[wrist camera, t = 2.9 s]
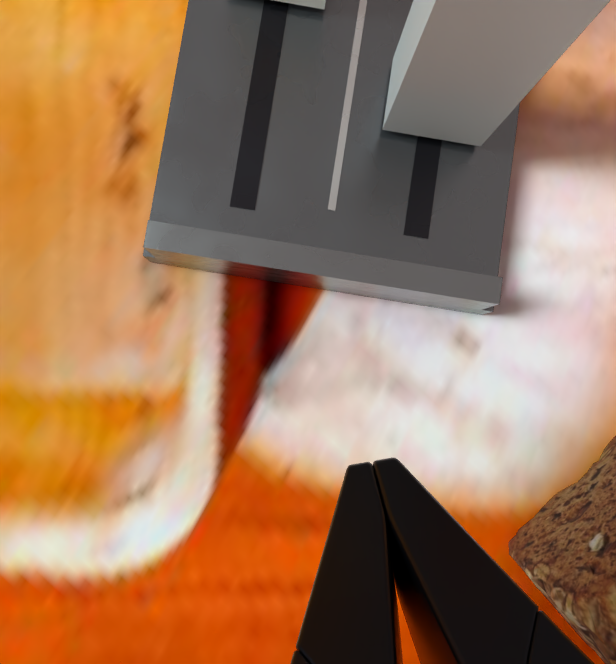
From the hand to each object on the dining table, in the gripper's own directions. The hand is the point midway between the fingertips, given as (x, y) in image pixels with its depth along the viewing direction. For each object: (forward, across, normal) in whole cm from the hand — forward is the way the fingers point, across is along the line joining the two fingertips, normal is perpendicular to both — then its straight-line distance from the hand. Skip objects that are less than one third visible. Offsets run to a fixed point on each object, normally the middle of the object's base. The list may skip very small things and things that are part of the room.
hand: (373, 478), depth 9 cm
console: (+19, -3, -5) cm, 20 cm away
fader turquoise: (+16, -6, -3) cm, 17 cm away
